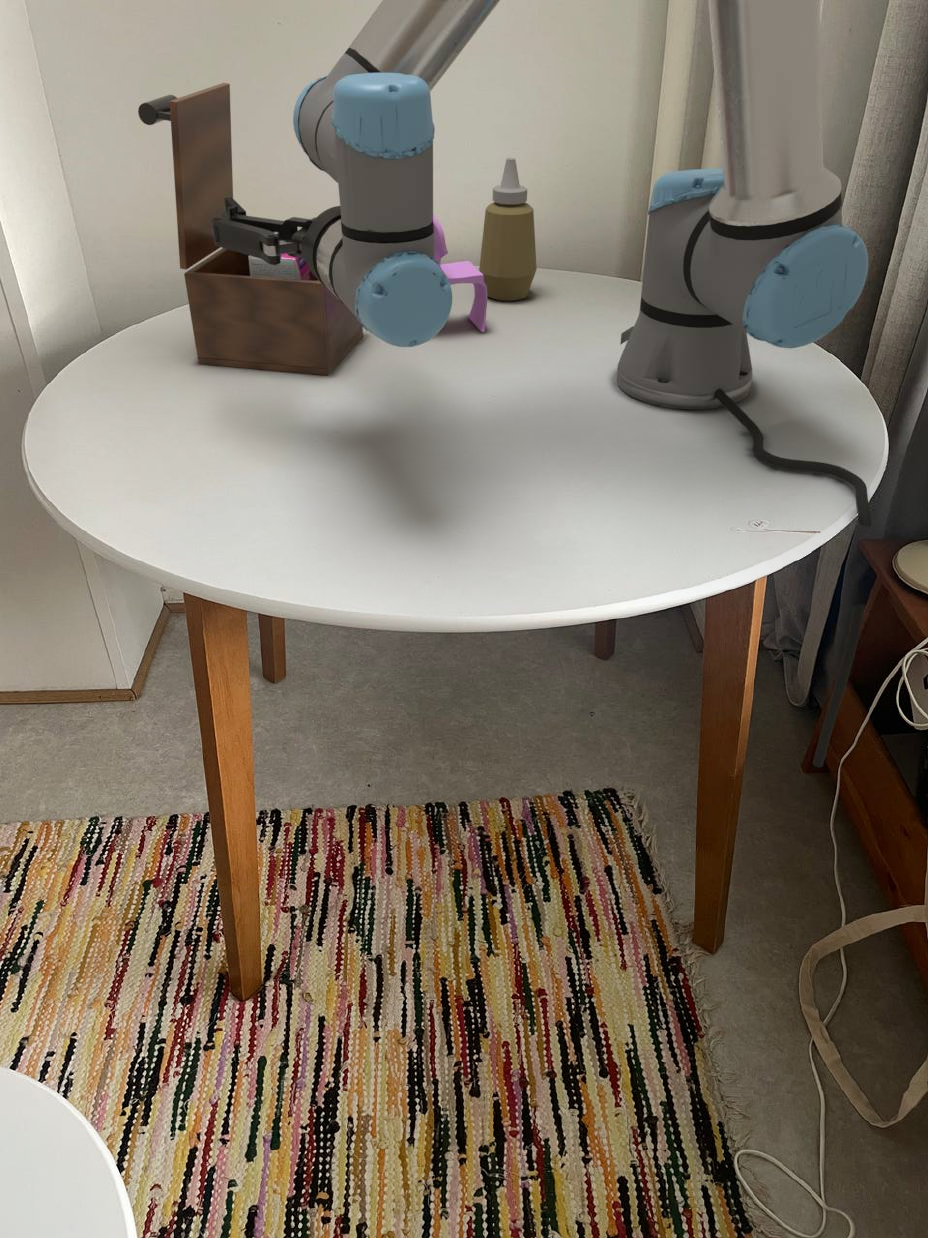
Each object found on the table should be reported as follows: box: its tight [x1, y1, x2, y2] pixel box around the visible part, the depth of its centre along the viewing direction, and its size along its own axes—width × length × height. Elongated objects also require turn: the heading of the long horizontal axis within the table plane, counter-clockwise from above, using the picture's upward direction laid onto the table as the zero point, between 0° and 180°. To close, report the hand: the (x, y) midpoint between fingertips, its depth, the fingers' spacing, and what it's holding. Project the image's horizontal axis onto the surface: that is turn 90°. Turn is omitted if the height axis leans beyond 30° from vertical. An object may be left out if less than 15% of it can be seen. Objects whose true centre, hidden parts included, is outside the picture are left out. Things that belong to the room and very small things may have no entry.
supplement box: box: [248, 254, 310, 281], centre depth 120 cm, size 6×6×12 cm
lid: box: [137, 82, 234, 271], centre depth 115 cm, size 17×14×6 cm
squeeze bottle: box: [478, 157, 538, 301], centre depth 137 cm, size 8×8×18 cm
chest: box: [183, 248, 364, 376], centre depth 121 cm, size 17×14×11 cm
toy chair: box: [433, 214, 488, 333], centre depth 127 cm, size 8×9×15 cm
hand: (292, 204), depth 107 cm, fingers open, 13 cm apart
